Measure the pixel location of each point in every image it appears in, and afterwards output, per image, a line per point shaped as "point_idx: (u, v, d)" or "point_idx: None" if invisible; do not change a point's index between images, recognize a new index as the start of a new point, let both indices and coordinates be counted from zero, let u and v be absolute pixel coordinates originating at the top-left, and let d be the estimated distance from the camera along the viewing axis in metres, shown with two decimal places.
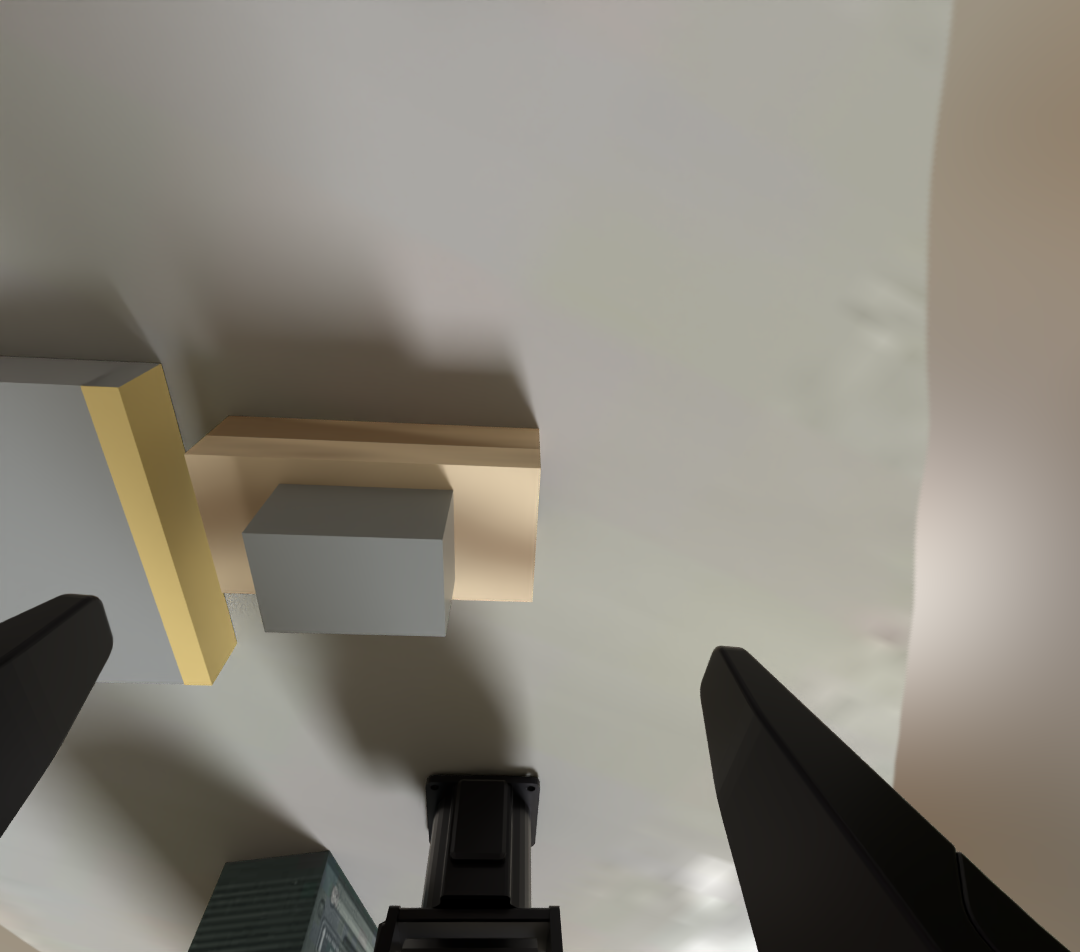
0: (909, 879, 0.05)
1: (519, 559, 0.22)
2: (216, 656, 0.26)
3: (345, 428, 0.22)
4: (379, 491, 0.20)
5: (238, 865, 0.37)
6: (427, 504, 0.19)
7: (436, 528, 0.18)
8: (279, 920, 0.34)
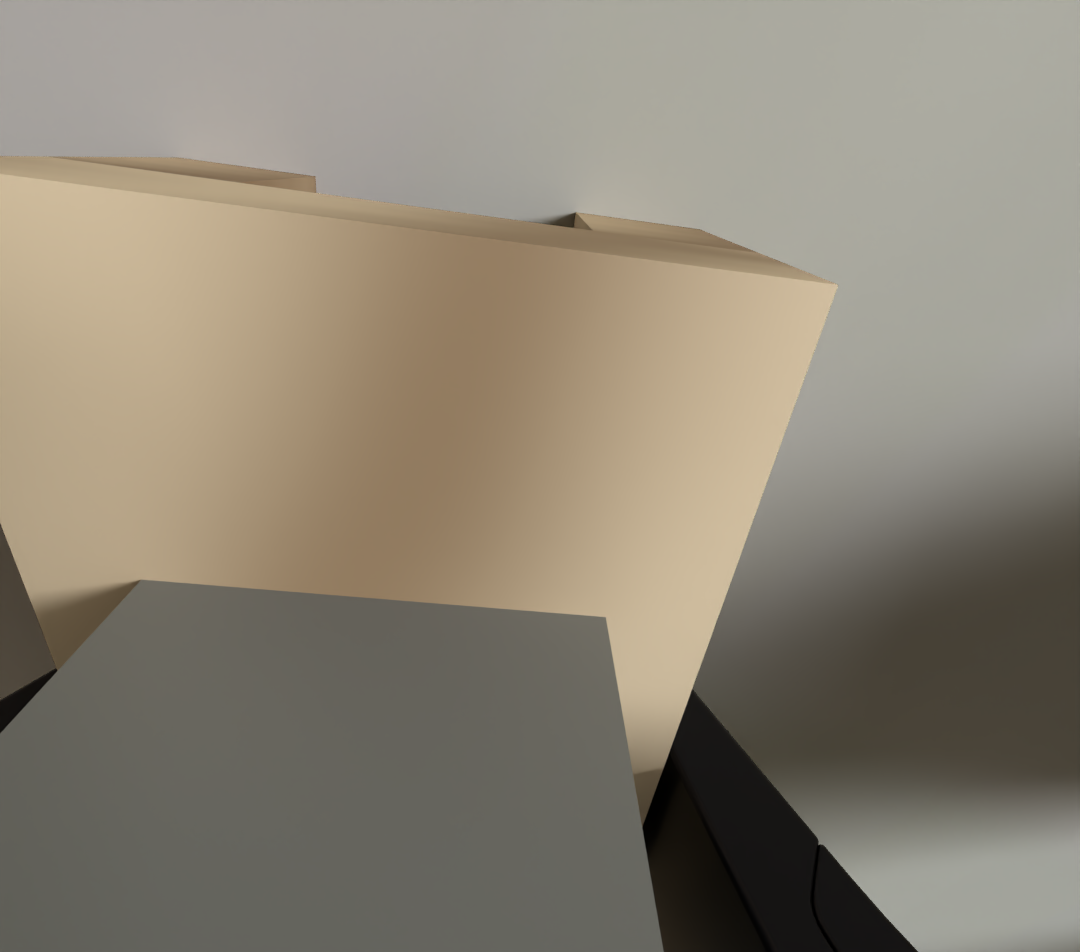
0: (760, 872, 0.05)
1: (520, 334, 0.04)
2: None
3: None
4: None
5: None
6: None
7: None
8: None
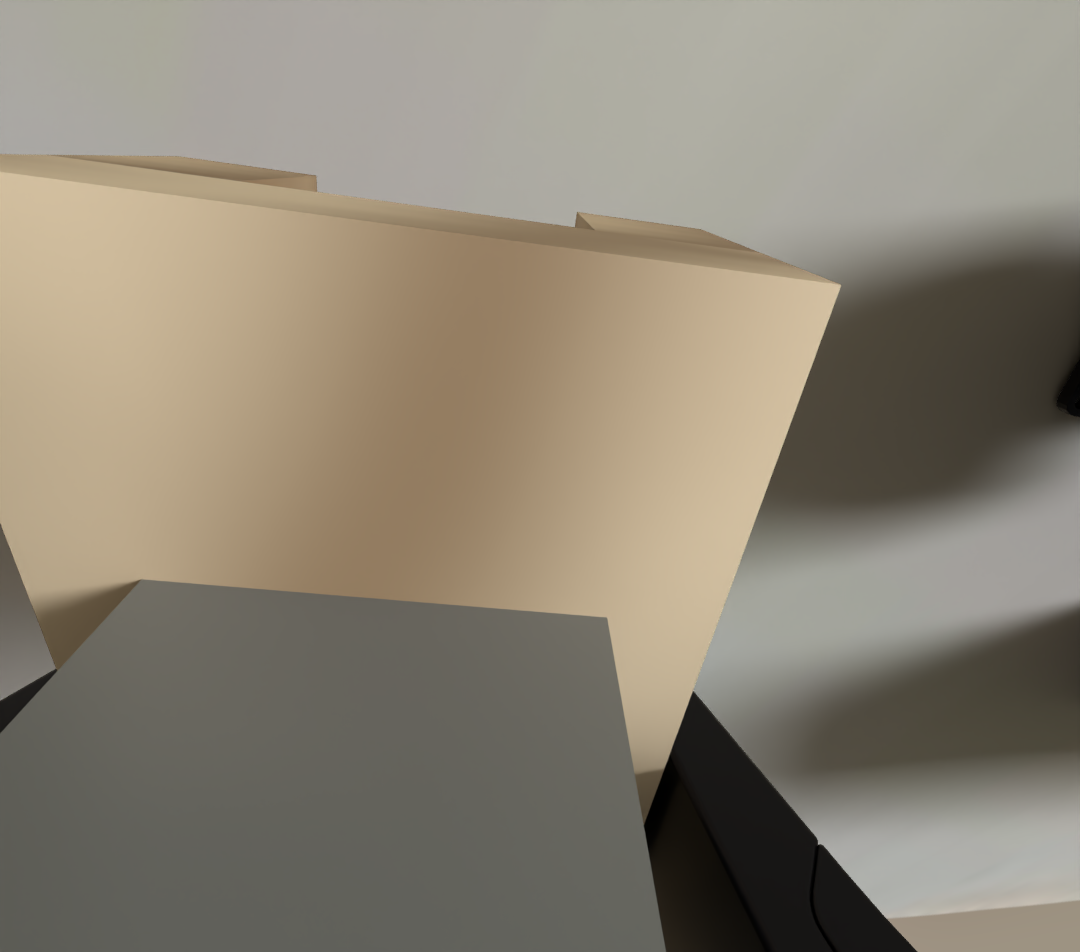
0: (759, 872, 0.05)
1: (522, 333, 0.04)
2: None
3: None
4: None
5: None
6: None
7: None
8: None
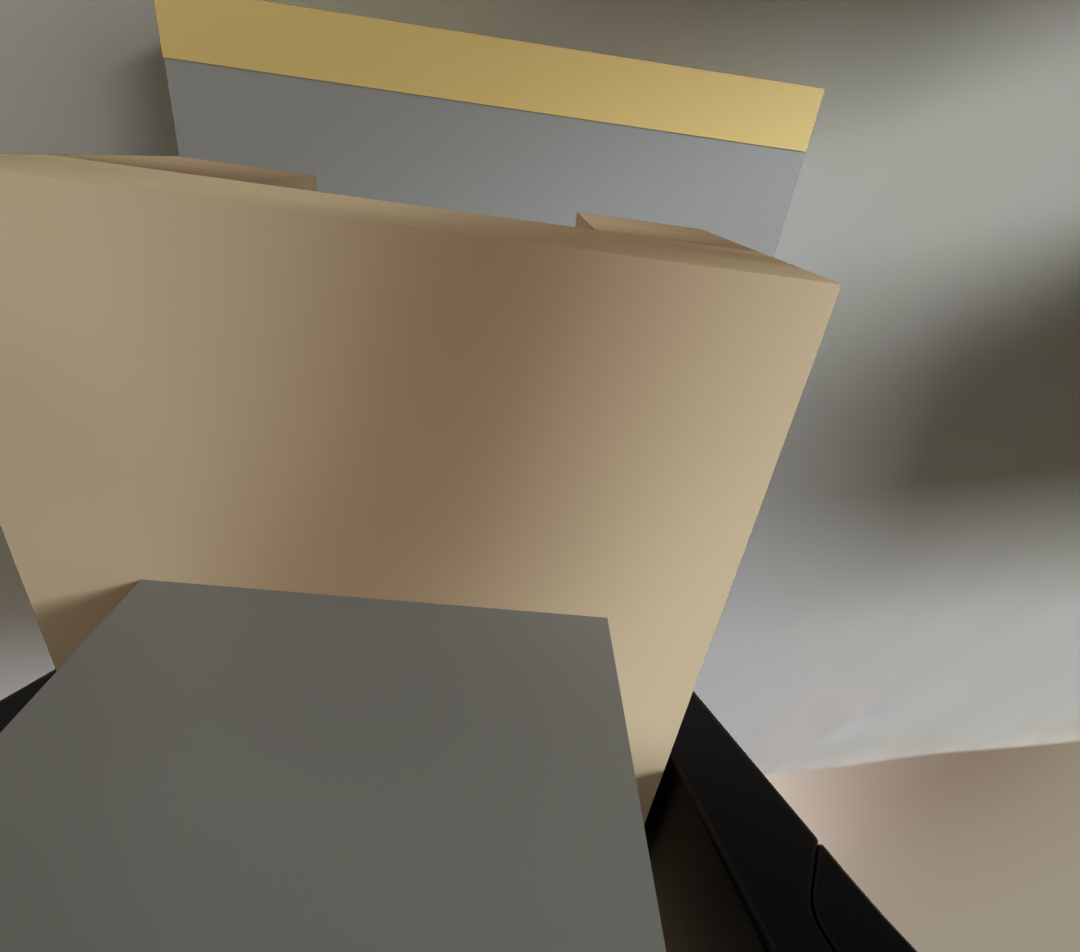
0: (760, 872, 0.05)
1: (522, 333, 0.04)
2: None
3: None
4: None
5: None
6: None
7: None
8: None
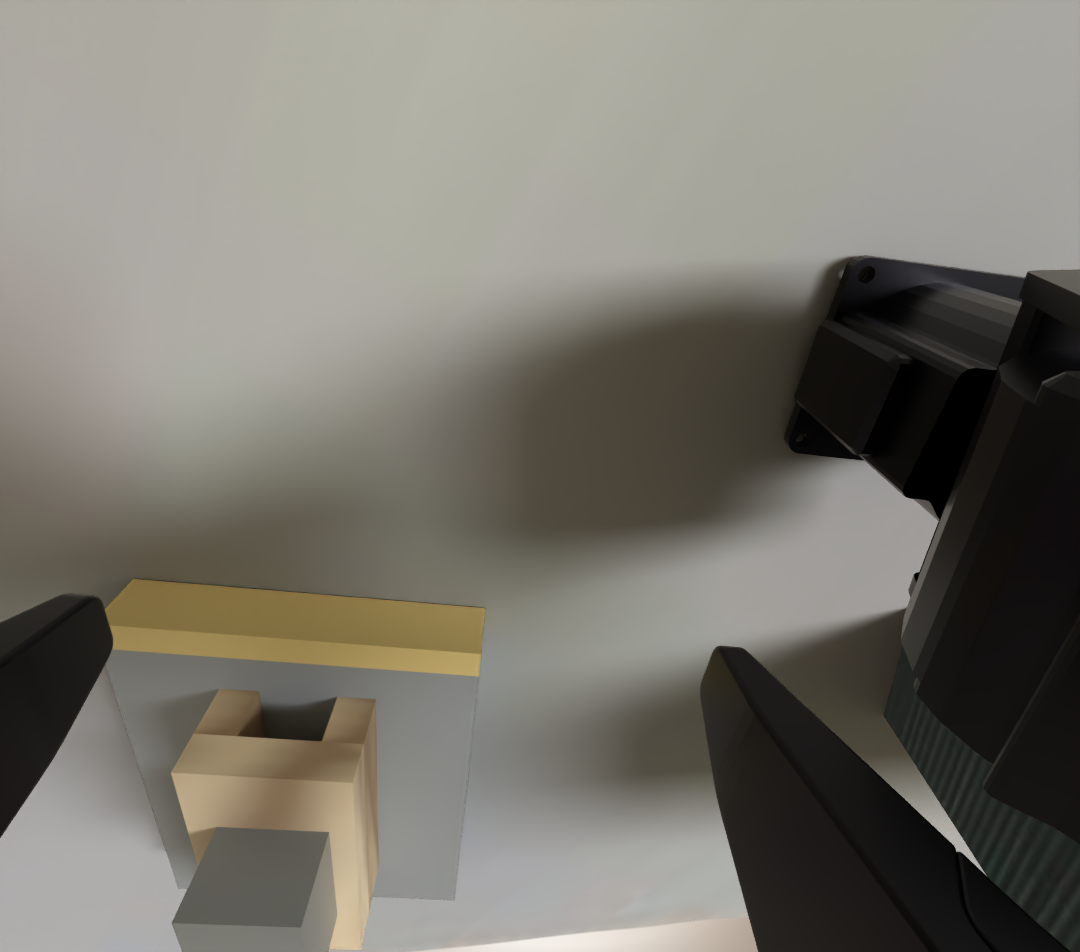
0: (909, 879, 0.05)
1: (292, 789, 0.20)
2: (459, 636, 0.22)
3: None
4: None
5: (890, 706, 0.27)
6: None
7: (183, 905, 0.19)
8: None
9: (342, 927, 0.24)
